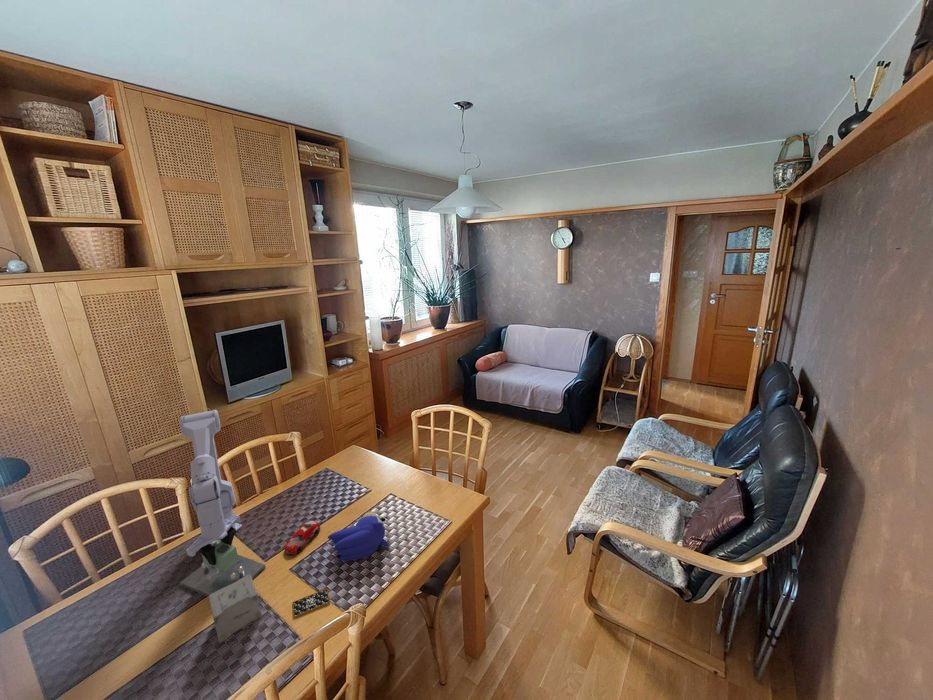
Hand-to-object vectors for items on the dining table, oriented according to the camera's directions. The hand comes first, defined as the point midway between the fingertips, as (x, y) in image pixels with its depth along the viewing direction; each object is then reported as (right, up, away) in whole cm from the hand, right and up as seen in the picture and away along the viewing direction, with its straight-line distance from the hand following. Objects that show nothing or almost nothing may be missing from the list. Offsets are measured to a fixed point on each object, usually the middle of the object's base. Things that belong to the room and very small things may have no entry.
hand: (220, 557), depth 108 cm
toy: (+39, -4, +12) cm, 41 cm away
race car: (+18, -3, +15) cm, 23 cm away
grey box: (+13, -10, -12) cm, 20 cm away
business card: (+30, -9, -7) cm, 32 cm away
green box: (0, -1, 0) cm, 2 cm away
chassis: (0, -6, +2) cm, 7 cm away
